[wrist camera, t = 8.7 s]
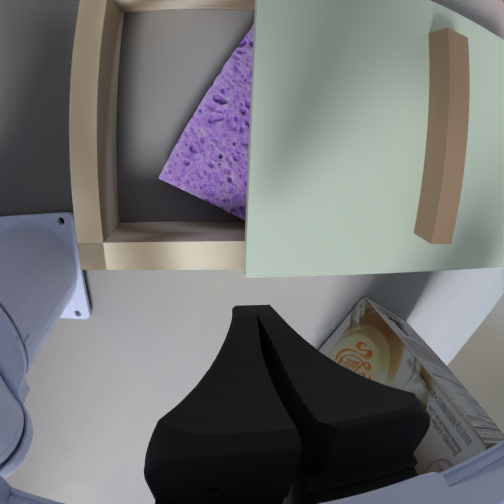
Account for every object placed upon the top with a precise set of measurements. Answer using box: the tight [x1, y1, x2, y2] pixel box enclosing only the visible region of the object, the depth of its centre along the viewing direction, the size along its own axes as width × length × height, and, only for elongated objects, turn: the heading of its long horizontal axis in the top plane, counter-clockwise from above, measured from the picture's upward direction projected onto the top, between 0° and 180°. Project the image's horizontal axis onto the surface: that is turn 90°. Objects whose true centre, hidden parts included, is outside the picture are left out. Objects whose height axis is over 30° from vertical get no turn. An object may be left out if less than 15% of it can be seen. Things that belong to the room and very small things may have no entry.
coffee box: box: [319, 297, 504, 475], centre depth 19 cm, size 9×6×16 cm
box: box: [69, 0, 255, 270], centre depth 17 cm, size 21×17×4 cm
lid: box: [244, 0, 504, 278], centre depth 15 cm, size 21×17×3 cm
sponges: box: [158, 24, 254, 221], centre depth 17 cm, size 7×13×2 cm, turn 149°
